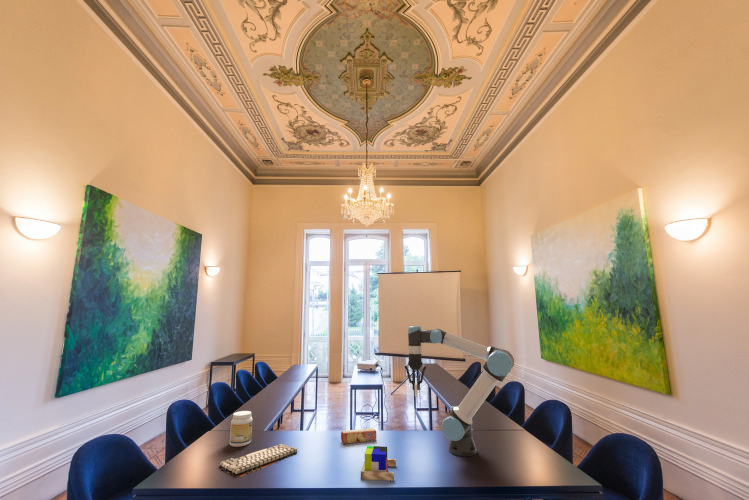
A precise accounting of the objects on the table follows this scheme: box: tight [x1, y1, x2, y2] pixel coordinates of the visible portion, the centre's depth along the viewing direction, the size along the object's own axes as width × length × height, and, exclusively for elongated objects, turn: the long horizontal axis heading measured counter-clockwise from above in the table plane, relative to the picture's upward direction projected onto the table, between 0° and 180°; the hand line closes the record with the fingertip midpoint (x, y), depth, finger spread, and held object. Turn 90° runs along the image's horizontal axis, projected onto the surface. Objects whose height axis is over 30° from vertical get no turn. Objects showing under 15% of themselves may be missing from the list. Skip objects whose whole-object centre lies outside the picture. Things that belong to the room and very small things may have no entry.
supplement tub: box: [229, 410, 253, 448], centre depth 200 cm, size 12×12×17 cm
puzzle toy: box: [364, 445, 388, 472], centre depth 162 cm, size 10×10×10 cm
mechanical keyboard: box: [218, 443, 298, 478], centre depth 176 cm, size 38×19×3 cm, turn 142°
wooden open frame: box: [360, 458, 397, 482], centre depth 162 cm, size 16×16×3 cm
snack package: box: [340, 427, 377, 445], centre depth 203 cm, size 21×7×7 cm, turn 107°
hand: (416, 396), depth 191 cm, fingers closed
